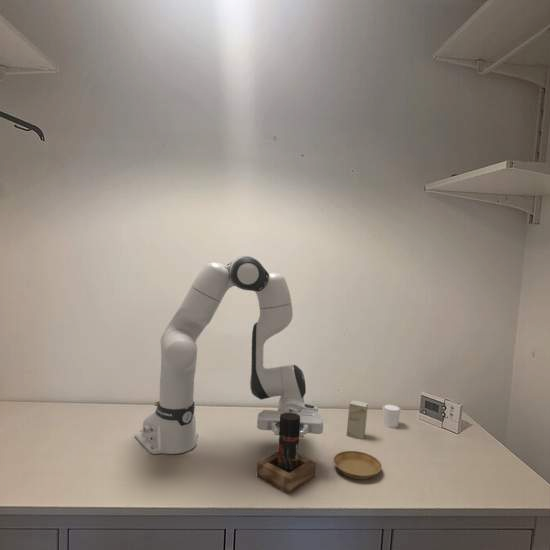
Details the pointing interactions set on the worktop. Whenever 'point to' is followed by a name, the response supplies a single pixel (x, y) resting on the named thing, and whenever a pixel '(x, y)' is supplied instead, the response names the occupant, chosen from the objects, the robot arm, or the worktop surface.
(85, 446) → the worktop surface
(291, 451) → the deodorant
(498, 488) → the worktop surface
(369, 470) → the plant saucer
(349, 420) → the skincare box
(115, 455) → the worktop surface
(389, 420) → the white cylinder
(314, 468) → the slot block
